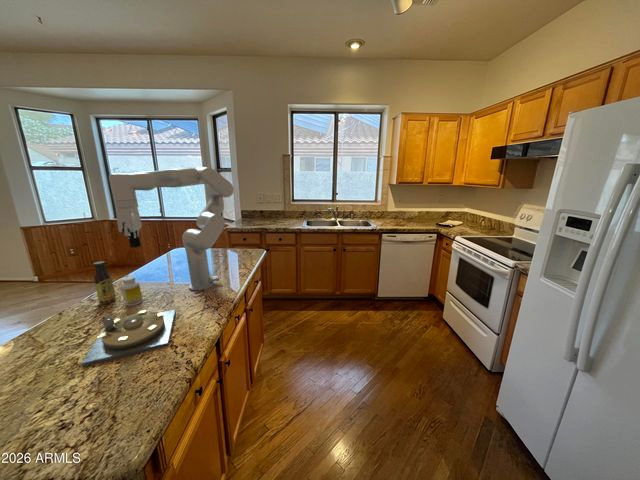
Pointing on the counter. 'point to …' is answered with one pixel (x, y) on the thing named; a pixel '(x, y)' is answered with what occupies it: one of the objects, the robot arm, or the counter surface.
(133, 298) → the supplement bottle
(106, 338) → the notched gold disc
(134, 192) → the robot arm
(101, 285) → the sauce bottle
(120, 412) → the counter surface
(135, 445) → the counter surface
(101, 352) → the cap plate
